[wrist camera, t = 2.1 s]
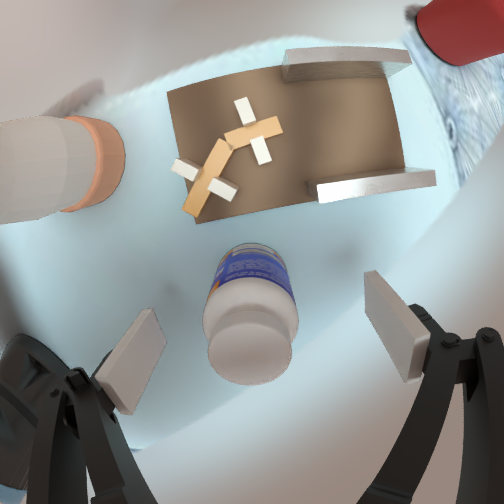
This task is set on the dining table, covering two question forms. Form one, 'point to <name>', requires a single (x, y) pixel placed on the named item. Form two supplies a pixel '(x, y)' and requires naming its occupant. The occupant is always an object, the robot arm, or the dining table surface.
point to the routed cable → (226, 158)
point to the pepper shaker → (56, 165)
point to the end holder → (341, 67)
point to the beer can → (463, 29)
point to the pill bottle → (250, 316)
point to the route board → (286, 134)
